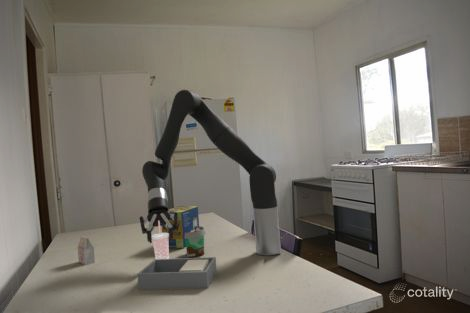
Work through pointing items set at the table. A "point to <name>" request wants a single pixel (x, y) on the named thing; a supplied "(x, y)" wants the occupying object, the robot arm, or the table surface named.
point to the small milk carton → (85, 251)
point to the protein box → (182, 224)
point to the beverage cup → (161, 244)
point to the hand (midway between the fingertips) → (160, 240)
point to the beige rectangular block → (195, 265)
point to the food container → (195, 242)
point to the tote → (175, 274)
